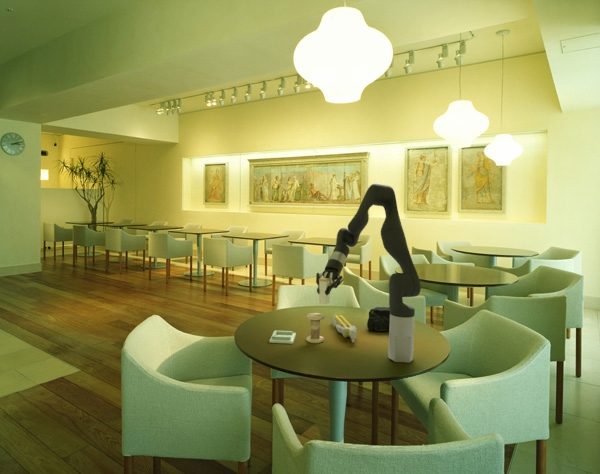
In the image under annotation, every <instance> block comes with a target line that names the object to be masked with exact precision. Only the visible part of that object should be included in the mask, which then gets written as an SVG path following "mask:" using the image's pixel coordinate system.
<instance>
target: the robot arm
mask: <svg viewBox="0 0 600 474" xmlns="http://www.w3.org/2000/svg"><path fill="white" fill-rule="evenodd" d="M372 206H377V207H382V208H383V209H384V213H385V218H384V221H383V223H382V226H381V228H380V237H381V241H382V245H383V248H384V249H385V251H386V252H387V253H388V254H389V255H390V257H392V258H393V259H394V261H395V262H397V264H398V265H399V267H400V269H401V271H402V272H394V273H391V275H390V277H389V279H388V299H389V300H388V303H389V304H388V306H389V307H390V325H389V331H388V352H387V353H388V359H390V360H392V361H393V362H394V363H410V364H411V362H412V361H413V360H414V359H413V358H414V335H415V319H416V318H415V317H416V315H415V314H416V313H415V311H416V310H415V308H414V307H413V306H412V305H408V304H406V303H404V299H403V298H414V297H415V298H416V297H417V296H419V295H420V293H421V290H422V289H421V288H422V287H421V281H420V276H419V274H418V272H417V269H416V267H415V264H414V261H413V259H412V255H411V253H410V250H409V247H408V241H407V239H406V234H405V231H404V229H403V226H402V222H401V219H400V214H399V209H398V203H397V197H396V193H395V190H394V188H393V187H392V186H390V185H386V184H382V183H381V184H380V183H372V184H370V185H369V187H368V188H367V190H366V192H365V193H364V196H363V198H362V201H361V203H360V204H359V207H358V209H357V211H356V212H355V214H354V215H353V217H352V218H351V220H350V221H349V222H348V224H347V227H342V228H340V229H339V230H338V232H337V234H336V240H335V241H336V242H335V245H334V249H333V251H332V253H331V254H330V256H329V259H328V261H327V263H326V265H325V267H324V270H323V271H322V273H319V272H317V273H316V277H315V281H316V282H315V283H316V285H317V288H316V293H317V294H318V295H319V279H320V278H330V281H329V286H328V287H327V289H326V291H325V294H326V295H328V294H331V291H332V290H333V289H337V288H338V287H340V284H342V282H343V281H344V280H345V279H344V277H343V275H341V273H342V271H343V268H344V266H345V264H346V262H347V258H348V256H349V253H350V248H353V247H355V246H356V245H357V244H358V241H359V238H360V236H361V234H362V231H363V230H364V229H365V228H366V226H367V225H368V223H369V219H370V218H369V217H370V216H369V209H370V208H372Z"/></svg>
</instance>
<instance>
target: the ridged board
mask: <svg viewBox="0 0 600 474" xmlns="http://www.w3.org/2000/svg"><path fill="white" fill-rule="evenodd" d="M296 335H297V333H296V332H294V331H293V330H292V331H291V330H274V331H273V332H272V335H271V336H270V339H269V343H271V344H291V345H292V344H294V342H295V339H296V337H297V336H296Z"/></svg>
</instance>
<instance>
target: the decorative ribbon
mask: <svg viewBox="0 0 600 474" xmlns="http://www.w3.org/2000/svg"><path fill="white" fill-rule="evenodd" d="M339 322H340V323H341V324H340V323H339ZM330 324H331V325H332V326H333V324H334V325H335V329H336V331H337V332H338V333H339V334H340V335H341V336H342V337H343V338H344V339H345V338H347V337H348V338H350V340H351V342H352V343H355V341H356V340H355V339H356V338H357V331H358V329H357V328H356V326H355V325H352V324H351V323H350V322H349V321H348V320H347V319H346V318H345V317H344V316H343V315H342V314H341V315H340V314H334V316H333V317H332V319H331V320H330Z"/></svg>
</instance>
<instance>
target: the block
mask: <svg viewBox="0 0 600 474" xmlns="http://www.w3.org/2000/svg"><path fill="white" fill-rule="evenodd" d="M329 281H330V278H320V279H319V294H318V304H322V305H328V304H330V298H331V297H330V296H331V295H330V294H331V293H330V294H328V295H326V294H325V291H326V289H327V287H328V286H329Z"/></svg>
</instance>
